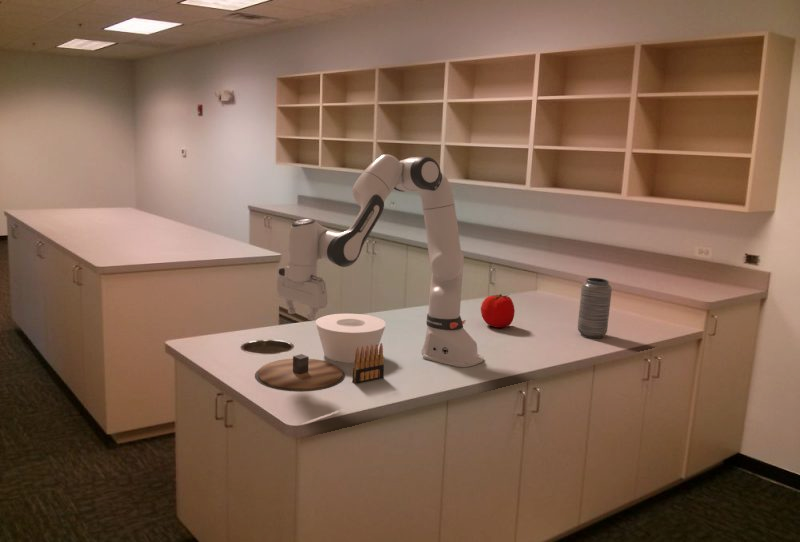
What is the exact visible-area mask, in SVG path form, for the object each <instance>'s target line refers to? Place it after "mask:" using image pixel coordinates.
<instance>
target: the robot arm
mask: <svg viewBox="0 0 800 542" xmlns="http://www.w3.org/2000/svg"><path fill="white" fill-rule="evenodd" d="M393 190H395V191H398V192H402V193H405V192H418V194H419V196H420V199H421V207H422V213H423V218H424V226H425V233H426V241H427V250H428V251H427V252H428V258H429V266H430V270H431V277H430V287H429V297H428V313H427V314H426V332H425V333H426V334H425V339H424V344H423V345H422V349H421V354H422V358H423V359H424V360H428V361H432V362H436V363H441V364H445V365H450V366H452V367H453V366H454V367H457V368H458V367H459V368H466V367H467V368H468V367H472V366H475V365H479V364H481V363H482V362H483V361H484V360H485V359H484V358H485V357H484V356H483V355H481V354H478V345H477V341H475V340H474V338H472V336H471V335H470V334H469V333H468V332H467V331H466V329H465V328H464V324H465V323H466V320H462V317H461V314H460V313H461V301H462V300H461V299H462V285H463V276H464V275H463V274H464V264H465V263H464V262H465V261H464V260H465V258H464V256H465V255H464V253H463V251H462V249H461V248H462V247H461V239H460V235H459V233H460V232H459V224H458V218H457V213H456V211H457V210H456V206H455V201H454V200H455V199H454V195H453V192H452V188H451V185H450V181H449V179H448V178H447V177H446V176H445V175H444V174H442V169H441V168H440V165H439V163H438V162H437V161H436V159H434V158H432V157H430V156H424V155H422V156H412V157H408V158H405V159H401V160H399V159H398V158H397V157H396V156H394V155H392V154H387V153H386V154H385V153H384V154H381V155H380V156H379V157H377V158H376V159H375V160H373V161H372V162H371V163H370V164H369V165H368V166H367V167H366V169H365V170H363V172H362V173H361V174H360V175H359V177H358V178H357V179H356V181H355V183H354V185H353V187H352V195H353V199H354V200H355V202H356V204H357V205H358V207H359V206H360V209H359V213H358V214H357V216H356V217H355V219H354V221H353V222H352V224H351V225H350V227H349V228H348V229H347V230H345V231H342V232H341V231H338V230H334V229H330V228H327V227H326V226H323V225H321V224H320V223H318V222H317V220H316V219H313V218H302V219H298V220H295V221H294V222H293V223H292V224H291V226H290V229H289V235H288V247H287V249H288V253H289V257H288V260H287V266H283V267H278V268H277V270H276V271H277V273H276V274H277V275H278V276H277V280H276V281H277V282H276V292H277V296H278V297H279V298H283V299H285V304H286V307H287V313H288V314H290V315H294V314H296V307H294V302H295V303H298V304H301V305H304V306H307V307H309V309H310V312H309V313H308V314H307V320H308V321H310V322H312V321H313V322H314V321H316V314H317V313H318V311H319V309H325V308H327V306H328V289H327V285H326V282H325V280H324V278H322V277H320V276H319V277H318V262H319V260H323V261H325V262H329V263H333V264H334V265H337V266H338V267H341V268H347V267H350V266H352V265H353V264H354V263H356V261H357V260H358V259H359V257H360V255H361V252H362V249H363V247H364V244H365V242H366V241H367V238H369V236H370V234H371V233H372V231H373V229H374V227H375V226H376V224H377V222H378V220H379V219H380V217H381V215H382V213H383V211H384V208H385V202H386V200H387V198H388V197H389V195H390V194H391V192H393Z"/></svg>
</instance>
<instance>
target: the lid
mask: <svg viewBox="0 0 800 542" xmlns="http://www.w3.org/2000/svg"><path fill="white" fill-rule="evenodd" d="M258 370H259V371H258ZM258 370H257V371H258V378H259V380H260V381H262V382H263V383H265V384H267V385H269V386H272V387H276V388H281V389H288V390H311V389H319V388H324V387H327V386H330V385H333V384H335V383H337V382H338V381H339V380H340V379H341V378H342V370H343V369H342V368H341V367H339V366H338V365H337V364H335V363H332V362H330V361H326V360H321V359H316V358H309V356H308V355H305V354H302V353H300V354H297V355H293V356H292V358H285V359H279V360H275V361H270V362H269V363H265V365H262V366H261V367H260V368H259V369H258Z"/></svg>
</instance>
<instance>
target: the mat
mask: <svg viewBox="0 0 800 542" xmlns="http://www.w3.org/2000/svg"><path fill="white" fill-rule="evenodd" d="M341 370H342V378H341V379H340V380H339V381H338V382H337V383H335V384H333V385H330V386H327V387H324V388H319V389H311V390H288V389H281V388H276V387H272V386H269V385H267V384H265V383H263V382H262V381H260V380H259V378H258V371H259V369H258V370H256V372H255V373H254V378H255V380H256V381H257V382H258V383H259V384H260V385H263V386H264V387H267V388H271V389H274V390H279V391H284V392H286V391H287V392H314V391H321V390H326V389H329V388H332V387H335V386H337V385H339V384H341V383H342V382H343V381H344V380H345V379H346V373H345V371H344V370H343V369H341Z"/></svg>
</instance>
